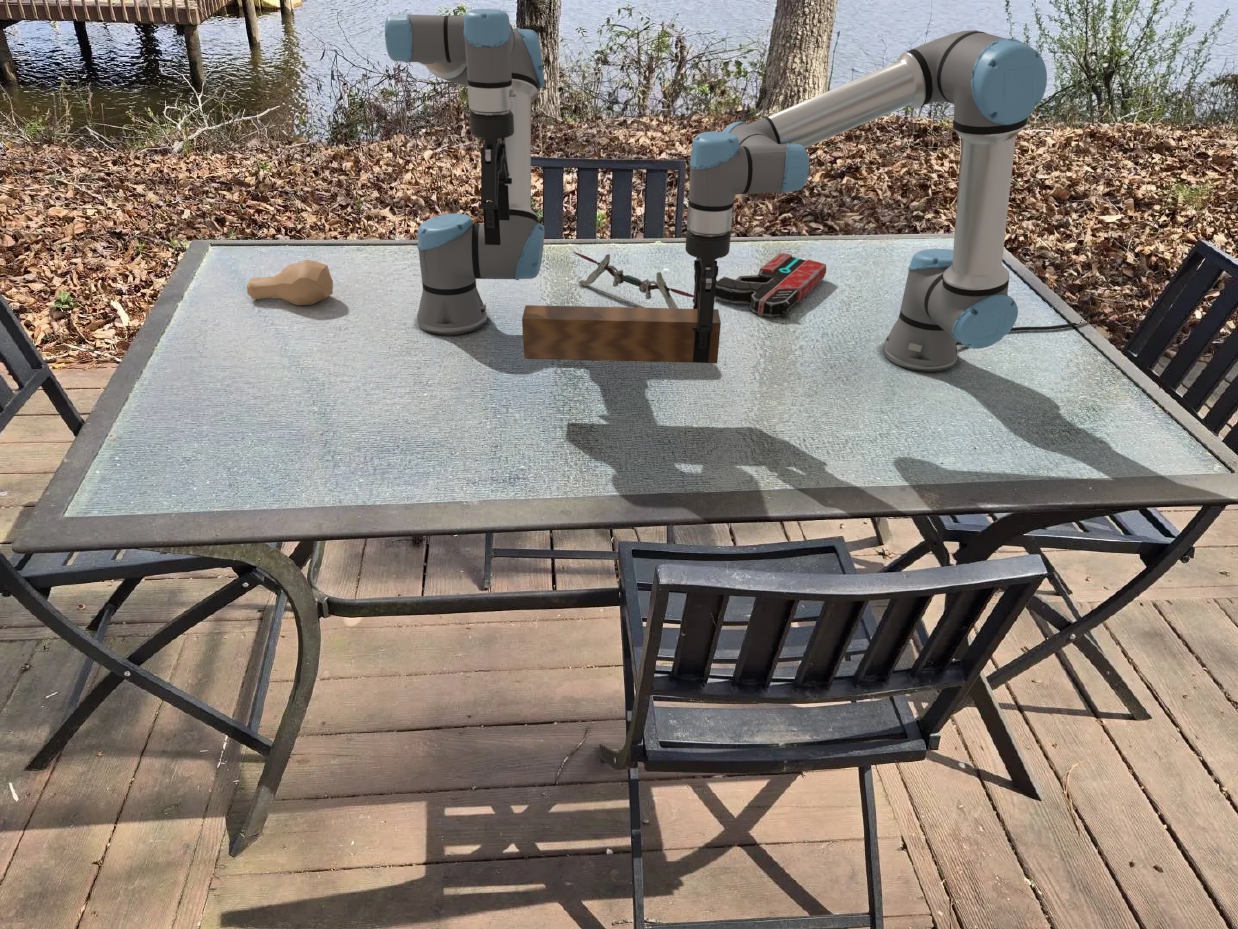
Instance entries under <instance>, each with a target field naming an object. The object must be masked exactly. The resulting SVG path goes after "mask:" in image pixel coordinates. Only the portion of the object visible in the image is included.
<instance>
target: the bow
mask: <svg viewBox="0 0 1238 929" xmlns="http://www.w3.org/2000/svg"><path fill="white" fill-rule="evenodd" d="M573 254H574V255H577V256H578V257H580V258H582V259H584V260H586V261H588V262H590V263H593V264H596V265H597V268H595V270H593V271H592V272H591V273H590V274H589V275H588V276H587V278H586V280H583V279H582V280H579V281H578V284H579V285H580V286H583V287H589V288H591V289H593V290H596V291H599V292H600V293H604V294H606V295H609V296H612V297H614V298H617V299H619V300H621V301H625V302H626V303H629V304H632V305H634V306H637V307H638V308H645V307H644V306H642V305H638V304H636V303H634V302H631V301H628V300H626V299H623V298H621V297H618V296H616V295H613V294H611V293H609V292H606V291H604V290H601V289H598V288H596V287H593V286H590V285H591V284H594V283H595V281H596V280H597V279H598V278H599V277H600V276H601V275H602V274H603V273H604V272H606V271H607V272H608V273H609V274H610V275H611V276H612V277H613V282H612V287H613V288H616V287H619V285H621V284H624V283H628V284H630V285H633V286H636V287H638V290H639V292H640V293H642V294H645V295H644V296H645V298H644V299H645V300H651V299H652V293H651V291H653V290H659V292H660V293H661V295H662V297H663V298H664V301H665V303H666V305H667V308H679V307H678V305H677V303H676V302H675V300H674V298H673V297H672V295H671V293H670V292H672V293H674V294H678V295H680V296H684V297H688V298H694V294H692V293H689V292H685V291H683V290H681V289H677V288H672V287H671V288H670V287H668V285H667V282H666V281H665V279H664V278H663V274H662V271H657V272H656V278H655V279H656V281H655V280H651V281H650V280H649V278H646V279H645V280H641V279H640V278H637V277H635V276H632V275H629V274H626V275H625V274H624V270H623V269H620V270H618V269H617V268H616V267H615V266H614V265H612V264H611V265H610V262H611V254H610V253H607V254H605V255H604V258H603V259H602V260H601V261H600V262H598V261H596V260H595V259H593V258H591V257H589V256H588V255H587V256H586V255H584V254H582V253H579V252H576V251H573Z"/></svg>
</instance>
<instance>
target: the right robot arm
mask: <svg viewBox="0 0 1238 929" xmlns="http://www.w3.org/2000/svg"><path fill="white" fill-rule="evenodd" d="M1047 72H1048V71H1047V66H1046V63H1045V61H1044V58H1043V57H1042V56H1041V54H1040V53H1039V52H1038V51H1037V50H1036V49H1035V48H1033V47H1032V46H1030V45H1028V44H1026V43H1024V42H1022V41H1021V40H1018V39H1015V38H1006V37H1002V36H998V35H994V34H990V33H987V32H985V31H980V30H976V29H975V30H974V29H971V30H962V31H957V32H953V33H950V34H947V35H944V36H941V37H939V38H936V39H933V40H930V41H929V42H925V43H924V44H923V43H922V44H921V45H919V46H916V47H914V48H911V49H909V50H906V51H905V52H902V53H901V54H899V57H898V59H897V61H896V62H894V63H891V64H889V65H887V66H885V67H881V68H880V69H877V70H875V71H873V72H870V73H868V74H865V75H863V76H861V77H858V78H856V79H853V80H851V81H849V82H846V83H844V84H842V85H839V86H837V87H834V88H833V89H830V90H828V91H825V92H823V93H821V94H817V95H816V96H813V97H811V98H809V99H806V100H803V101H801V102H798V103H797V104H794V105H792V106H789V107H787V108H785V109H782V110H780V111H778V112H775V113H773V114H771V115H768V116H765V117H762V118H760V119H758V120H755V121H753V122H751V123H750V122H748V121H747V122H746V121H734V122H732V123H730V124H728V125H727V126H726V127H725V128H724V129H723V130H722V131H716V130H715V131H714V130H713V131H704V132H701V133H698V134H697V135H696V136H695V137H694V139H693V141H692V147H691V154H690V161H689V186H688V187H689V188H688V193H689V194H688V202H687V212H686V228H687V230H686V233H685V252H686V253H687V254H688V255H690V256H691V257H693V258H696V259H694V260H693V271H694V274H693V275H694V276H693V279H694V286H693V295H694V297H693V298H692V303H693V307H692V309H698V310H697V326H696V327H692V331H695V340H694V354H693V363H692V364H709V363H708V360H709V348H710V336H711V332H712V330H713V327H712V324H713V311H714V309H715V299H716V298H715V290H716V283H717V281H718V279H717V277H718V276H719V265H718V259H722V258H724V257H726V256H727V255H729V253H730V249H731V248H730V247H731V238H732V234H731V230H732V222H733V219H732V218H734V217H736V216H737V212H736V211H735V210H734V207H735V206H734V205H735V197H736V195H753V194H756V195H757V194H785V193H791V192H797V191H800V190H802V189H804V187H805V186H806V184H807V181H808V178H809V172H810V158H809V154H808V151H807V149H806V148H809V147H811V146H813V145H816V144H818V143H821V142H823V141H826V140H829V139H831V138H832V137H835V136H838V135H840V134H842V133H846V132H847V131H850V130H852V129H854V128H857V127H860V126H862V125H865V124H867V123H870V122H872V121H874V120H877V119H879V118H881V117H884V116H886V115H889V114H891V113H894V112H897V111H898V110H901V109H903V108H905V107H909V106H910V107H911V108H914V109H919V108H921V107H923V106H926V105H928V104H929V105H930V104H933V103H950V104H951V105H953V107H954V109H953V123H952V130H953V132H955V133H956V134H957V135H958V136H959V137H960V139H961V140H960V141H961V142H960V143H961V144H960V157H959V168H958V169H959V171H958V182H957V197H956V198H957V199H956V208H955V209H956V210H955V220H954V221H955V224H954V234H953V249H949V248H948V249H947V248H927V249H921V250H918V251H916V252H915V253H914V254H913V256H912V257H911V260H910V263H909V266H908V268H907V269H908V273H907V277H906V282H905V286H904V291H903V296H902V299H901V305H900V310H899V315H898V318H897V320H896V321H895V323H894V325H893V326H892V328H891V329H890V332H889V334H888V335H887V336H886V338H885V340H884V343H883V346H882V354H883V356H885V357H884V358H886V359H887V360H888V361H890V362H891V363H893V364H895V365H896V366H899V367H902V368H904V369H908V370H911V371H917V372H925V373H936V372H937V373H938V372H943V371H948V370H950V369H952V368H953V367H955V365H956V363H957V360H958V354H959V350H958V346H964V347H966V348H970V349H975V350H979V349H984V348H988V347H991V346H994V345H995V344H997V343H998V342H1000V341H1001V340H1003V338H1004V337H1005V336H1006V335H1008V334H1009V332H1018V331H1047V330H1048V331H1050V330H1059V329H1065V328H1071V327H1075V326H1078V325H1080V324H1076V323H1074V322H1070V323H1066V324H1057V325H1046V326H1018V327H1017V326H1015V324H1016V322H1017V320H1018V316H1019V315H1018V314H1019V308H1018V305H1017V303H1016V301H1015V300H1014V298H1013V297H1011V296H1010V295H1009V294H1008V292H1009V285H1010V284H1009V283H1010V271H1009V270H1008V268H1006V267H1005V266H1004V265H1003V257H1004V248H1005V240H1006V231H1007V230H1006V229H1007V222H1008V211H1009V203H1010V202H1009V201H1010V194H1011V185H1012V176H1013V168H1014V167H1013V164H1014V156H1015V147H1016V138H1017V135H1018V134H1019V133H1020V132H1021V131H1023V130H1024V129H1025V128H1026V127H1027V125H1028V120H1029V117H1030V116H1031V115H1032V114H1033V113H1034V112H1035V110H1037V109H1036V107H1037V105H1039V104H1041V102H1042V101H1043V98H1044V95H1045V92H1046V89H1047V85H1048V84H1047V82H1048V73H1047ZM1089 318H1095V315H1094V313H1093V312H1092V311H1089V312H1088V313H1086V315H1084V317H1083V318H1082V319H1084V320H1085V322H1086V321H1087V320H1088V319H1089ZM1082 319H1081V321H1082ZM1080 323H1081V322H1080ZM1081 324H1082V323H1081ZM1014 326H1015V327H1014Z"/></svg>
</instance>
